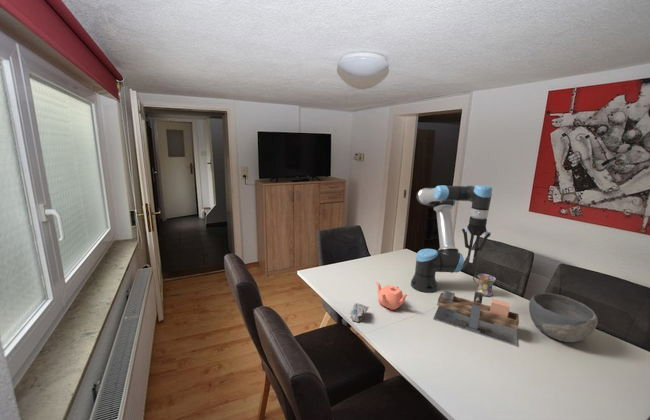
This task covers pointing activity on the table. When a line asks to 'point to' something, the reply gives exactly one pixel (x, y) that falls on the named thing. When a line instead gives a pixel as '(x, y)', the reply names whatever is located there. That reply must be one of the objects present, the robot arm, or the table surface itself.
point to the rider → (499, 307)
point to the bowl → (562, 317)
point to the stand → (477, 323)
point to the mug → (485, 284)
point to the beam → (465, 308)
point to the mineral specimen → (358, 312)
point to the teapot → (390, 296)
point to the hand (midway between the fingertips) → (471, 261)
